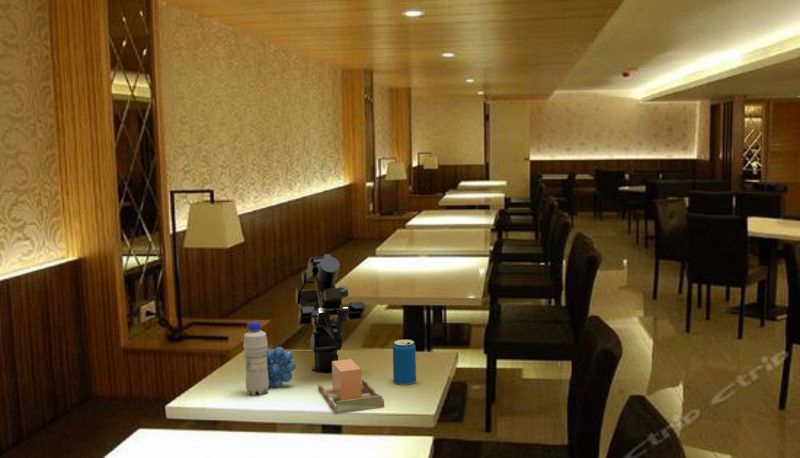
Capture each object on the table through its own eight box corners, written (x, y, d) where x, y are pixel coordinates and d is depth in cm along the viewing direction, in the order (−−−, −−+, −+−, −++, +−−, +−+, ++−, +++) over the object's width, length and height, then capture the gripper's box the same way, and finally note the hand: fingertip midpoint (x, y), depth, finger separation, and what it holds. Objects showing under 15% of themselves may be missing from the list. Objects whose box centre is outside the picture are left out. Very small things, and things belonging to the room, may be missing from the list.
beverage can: (414, 387, 211) (413, 345, 210) (391, 386, 213) (390, 344, 211) (418, 380, 218) (417, 339, 216) (396, 379, 219) (395, 338, 218)
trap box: (318, 391, 210) (318, 378, 210) (363, 385, 214) (363, 373, 214) (335, 415, 191) (334, 402, 191) (384, 408, 195) (384, 395, 195)
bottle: (249, 398, 206) (246, 326, 203) (242, 391, 211) (238, 321, 209) (273, 393, 209) (270, 322, 206) (265, 387, 215) (262, 317, 212)
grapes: (299, 383, 217) (298, 342, 216) (295, 390, 211) (293, 348, 209) (259, 383, 218) (257, 342, 216) (254, 391, 211) (252, 349, 210)
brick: (332, 389, 210) (331, 361, 209) (352, 386, 211) (351, 359, 210) (341, 400, 200) (340, 371, 199) (361, 398, 202) (360, 369, 201)
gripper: (298, 279, 214) (307, 326, 205) (362, 274, 220) (373, 319, 211) (294, 300, 222) (303, 347, 213) (355, 295, 228) (366, 340, 219)
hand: (336, 337), depth 214 cm, fingers closed
